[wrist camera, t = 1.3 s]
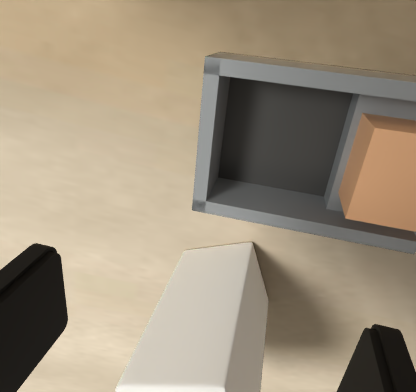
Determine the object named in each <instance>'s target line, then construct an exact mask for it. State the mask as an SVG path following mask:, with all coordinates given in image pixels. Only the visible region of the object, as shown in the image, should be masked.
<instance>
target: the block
mask: <svg viewBox="0 0 416 392" xmlns="http://www.w3.org/2000/svg"><path fill="white" fill-rule="evenodd" d="M338 194H339V197H340V201H341V205H342V208H343V212H344V216H345V219H350V220H356V221H361V222H366V223H372V224H377V225H382V226H388V227H393V228H398V229H404V230H409V231H414V232H416V120H409V119H402V118H395V117H388V116H381V115H374V114H367V113H362V116H361V119H360V122H359V126H358V129H357V132H356V136H355V139H354V142H353V145H352V149H351V152H350V155H349V159H348V162H347V165H346V169H345V172H344V175H343V179H342V182H341V185H340V188H339V192H338Z"/></svg>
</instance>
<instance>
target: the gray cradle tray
mask: <svg viewBox="0 0 416 392" xmlns="http://www.w3.org/2000/svg"><path fill="white" fill-rule="evenodd" d="M362 113H367V114H374V115H381V116H388V117H395V118H402V119H409V120H416V76H414V75H406V74H397V73H389V72H381V71H373V70H365V69H356V68H348V67H340V66H332V65H323V64H315V63H307V62H299V61H290V60H282V59H274V58H266V57H258V56H249V55H241V54H233V53H225V52H219V53H215V54H212V55H208V56H205V65H204V77H203V88H202V100H201V112H200V123H199V135H198V147H197V158H196V170H195V182H194V193H193V205H192V210H193V211H198V212H203V213H208V214H213V215H218V216H223V217H228V218H233V219H238V220H243V221H248V222H253V223H259V224H264V225H269V226H274V227H279V228H284V229H289V230H294V231H299V232H304V233H309V234H314V235H319V236H324V237H329V238H334V239H339V240H344V241H350V242H355V243H360V244H365V245H370V246H375V247H380V248H385V249H390V250H395V251H400V252H405V253H410V254H415V252H416V232H414V231H409V230H404V229H398V228H393V227H388V226H382V225H377V224H372V223H366V222H361V221H356V220H350V219H345V216H344V212H343V208H342V205H341V201H340V197H339V194H338V192H339V188H340V185H341V182H342V179H343V175H344V172H345V169H346V165H347V162H348V159H349V155H350V152H351V149H352V145H353V142H354V139H355V136H356V132H357V129H358V126H359V122H360V119H361V116H362Z"/></svg>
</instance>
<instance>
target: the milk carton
mask: <svg viewBox="0 0 416 392" xmlns="http://www.w3.org/2000/svg"><path fill="white" fill-rule="evenodd" d="M268 303H269V302H268V297H267V293H266V289H265V286H264V282H263V278H262V275H261V271H260V268H259V264H258V260H257V257H256V253H255V250H254V246H253V243H252V242H247V243H238V244H230V245H222V246H215V247H207V248H199V249H191V250H185V251H184V252H183V254H182V256H181V258H180V260H179V262H178V264H177V266H176V268H175V270H174V272H173V274H172V276H171V278H170V280H169V282H168V284H167V286H166V288H165V290H164V292H163V294H162V296H161V298H160V300H159V302H158V304H157V306H156V308H155V310H154V312H153V314H152V316H151V318H150V320H149V322H148V324H147V326H146V328H145V330H144V332H143V334H142V336H141V338H140V340H139V342H138V344H137V346H136V348H135V350H134V352H133V354H132V356H131V358H130V360H129V362H128V364H127V366H126V368H125V370H124V372H123V374H122V376H121V378H120V380H119V383H118V385H117V387H116V392H260V389H261V379H262V368H263V357H264V346H265V335H266V324H267V313H268Z"/></svg>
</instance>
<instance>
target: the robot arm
mask: <svg viewBox="0 0 416 392" xmlns="http://www.w3.org/2000/svg"><path fill="white" fill-rule="evenodd" d="M67 321H68V315H67V307H66V298H65V289H64V281H63V272H62V263H61V257H60V255H59V254H58V253H57V251H56V249H55V248H53V247H50V246H46V245H41V244H37V243H36V244H32V245H31V246H29V247H28V248H27V249H26V250H25V251H23V252H22V253H21V254H20V255H18V256H17V257H16V258H15V259H13V260H12V261H11V262H10V263H8V264H7V265H6V266H5V267H3V268H2V269H1V270H0V392H17V390H18V389H19V388H20V386H21V385H22V384H23V383H24V381H25V380H26V379H27V377H28V376H29V375H30V374H31V372H32V371H33V370H34V368H35V367H36V366H37V365H38V363H39V362H40V361H41V359H42V358H43V357H44V355H45V354H46V353H47V352H48V350H49V349H50V348H51V346H52V345H53V344H54V343H55V341H56V340H57V339H58V337H59V336H60V335H61V334H62V332H63V331H64V329H65V327H66V325H67ZM337 392H416V372H415V369H414V366H413V363H412V361H411V358H410V355H409V352H408V349H407V347H406V344H405V341H404V338H403V335H402V333H401V331H400V330H398V329H394V328H390V327H386V326H381V325H377V324H374V325H373V326H372V328H371V329H369V328H365V329H364V331H363V333H362V335H361V337H360V340H359V342H358V344H357V346H356V349H355V351H354V353H353V356H352V358H351V360H350V363H349V365H348V367H347V369H346V372H345V374H344V376H343V379H342V381H341V383H340V385H339V388H338V390H337Z"/></svg>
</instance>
